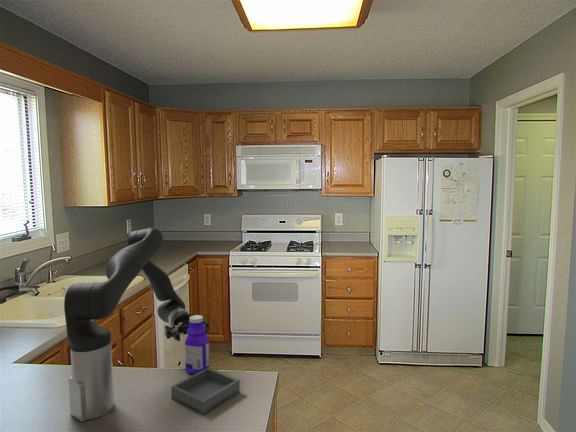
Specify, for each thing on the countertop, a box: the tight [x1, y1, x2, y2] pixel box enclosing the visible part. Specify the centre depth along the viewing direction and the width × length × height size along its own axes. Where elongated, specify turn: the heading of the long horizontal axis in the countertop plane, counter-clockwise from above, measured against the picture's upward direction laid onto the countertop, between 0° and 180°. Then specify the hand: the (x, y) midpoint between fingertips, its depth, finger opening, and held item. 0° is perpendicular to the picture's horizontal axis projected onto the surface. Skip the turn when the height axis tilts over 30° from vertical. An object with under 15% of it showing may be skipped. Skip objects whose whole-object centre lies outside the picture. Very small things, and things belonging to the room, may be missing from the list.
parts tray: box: [170, 367, 241, 416], centre depth 101 cm, size 13×13×4 cm
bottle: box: [184, 314, 210, 375], centre depth 115 cm, size 7×6×17 cm
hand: (192, 335), depth 119 cm, fingers open, 8 cm apart
